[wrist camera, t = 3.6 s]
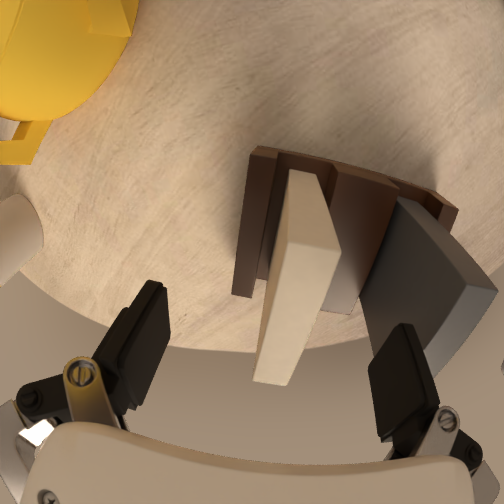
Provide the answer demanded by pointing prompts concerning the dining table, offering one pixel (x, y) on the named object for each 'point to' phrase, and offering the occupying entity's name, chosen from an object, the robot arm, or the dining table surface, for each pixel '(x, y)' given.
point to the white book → (295, 278)
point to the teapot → (55, 62)
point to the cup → (18, 235)
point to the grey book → (424, 285)
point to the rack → (341, 211)
